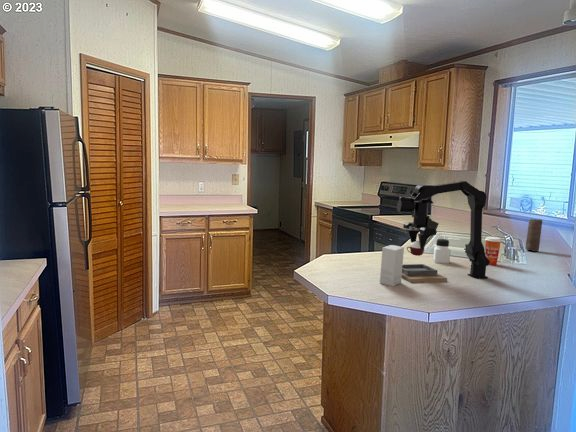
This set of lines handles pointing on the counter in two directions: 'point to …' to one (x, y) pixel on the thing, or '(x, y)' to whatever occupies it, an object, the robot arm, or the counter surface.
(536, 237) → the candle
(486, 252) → the paper cup
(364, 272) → the counter surface
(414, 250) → the cocoa
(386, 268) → the skincare box
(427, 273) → the tray stand
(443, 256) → the medicine bottle
